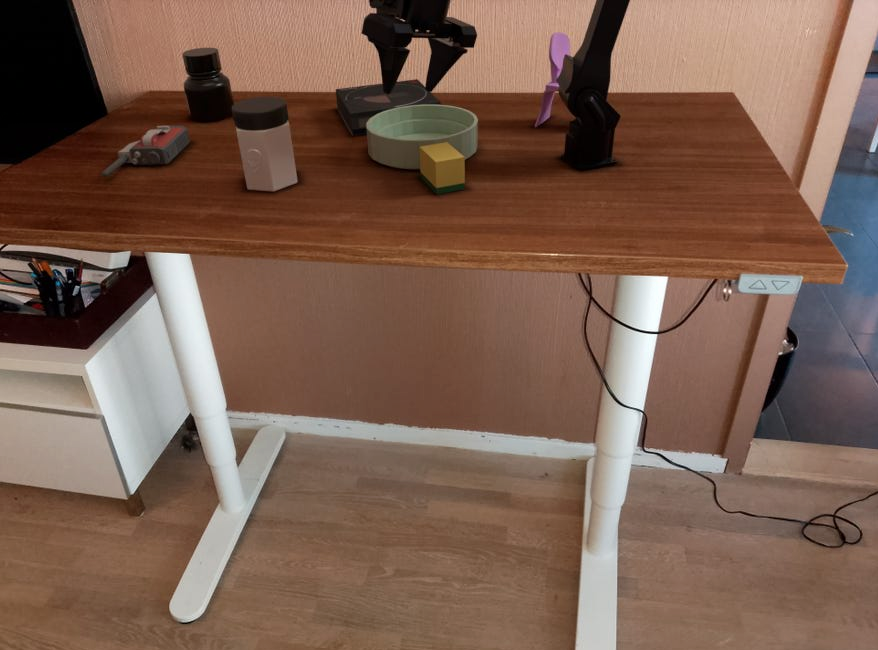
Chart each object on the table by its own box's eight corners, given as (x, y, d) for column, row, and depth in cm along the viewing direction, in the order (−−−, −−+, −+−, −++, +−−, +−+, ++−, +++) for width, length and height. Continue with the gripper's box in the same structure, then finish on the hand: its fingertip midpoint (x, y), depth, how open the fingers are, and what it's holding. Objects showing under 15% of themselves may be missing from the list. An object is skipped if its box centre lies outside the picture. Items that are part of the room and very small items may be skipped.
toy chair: (580, 135, 123) (588, 41, 114) (531, 128, 127) (536, 37, 118) (596, 120, 128) (606, 30, 120) (550, 115, 132) (555, 27, 124)
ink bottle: (216, 105, 149) (204, 44, 142) (246, 111, 145) (235, 48, 138) (179, 119, 143) (164, 55, 136) (209, 125, 138) (196, 60, 131)
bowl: (453, 127, 130) (453, 98, 127) (494, 160, 116) (495, 129, 113) (356, 142, 126) (353, 114, 123) (387, 179, 112) (384, 147, 109)
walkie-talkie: (149, 140, 133) (100, 183, 117) (143, 116, 130) (91, 156, 114) (194, 140, 132) (151, 183, 116) (189, 116, 129) (143, 156, 113)
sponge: (447, 173, 112) (447, 141, 109) (464, 189, 107) (464, 156, 104) (420, 178, 111) (419, 146, 108) (436, 194, 106) (435, 161, 103)
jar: (234, 189, 112) (218, 111, 105) (257, 170, 118) (244, 95, 111) (286, 193, 109) (274, 114, 102) (307, 173, 115) (297, 97, 108)
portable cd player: (353, 137, 128) (351, 114, 126) (337, 110, 142) (335, 89, 140) (442, 125, 131) (441, 103, 129) (418, 99, 145) (417, 79, 142)
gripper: (435, -35, 108) (411, 72, 116) (345, -46, 95) (325, 74, 104) (492, -13, 102) (462, 97, 111) (405, -22, 90) (378, 103, 98)
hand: (408, 92), depth 106 cm, fingers open, 9 cm apart
